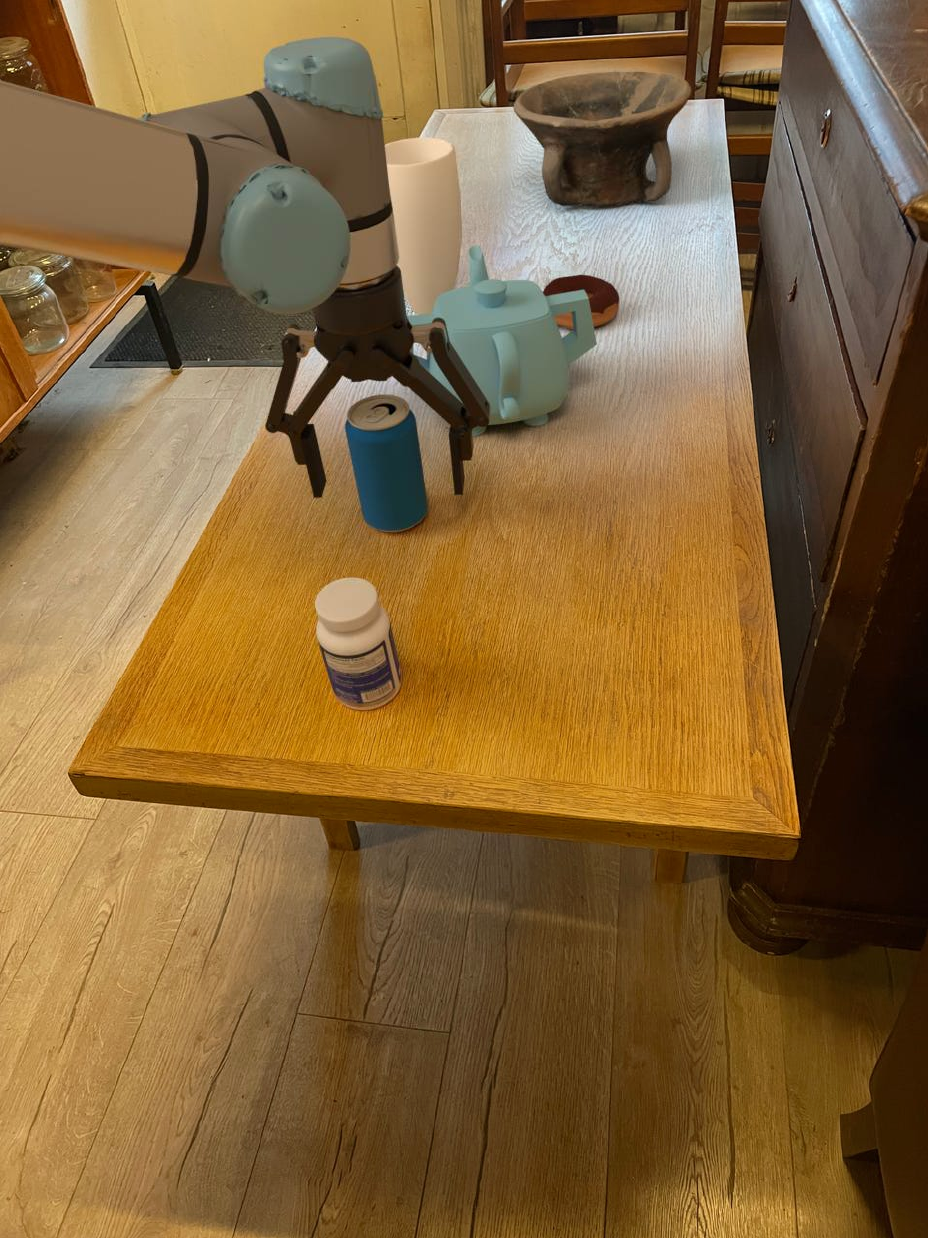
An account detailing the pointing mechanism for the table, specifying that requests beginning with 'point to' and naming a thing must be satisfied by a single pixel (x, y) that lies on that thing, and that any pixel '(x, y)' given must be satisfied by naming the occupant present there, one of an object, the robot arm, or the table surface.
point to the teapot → (511, 342)
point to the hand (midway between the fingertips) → (389, 488)
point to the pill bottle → (357, 644)
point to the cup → (425, 217)
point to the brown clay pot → (604, 135)
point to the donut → (598, 293)
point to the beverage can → (387, 462)
